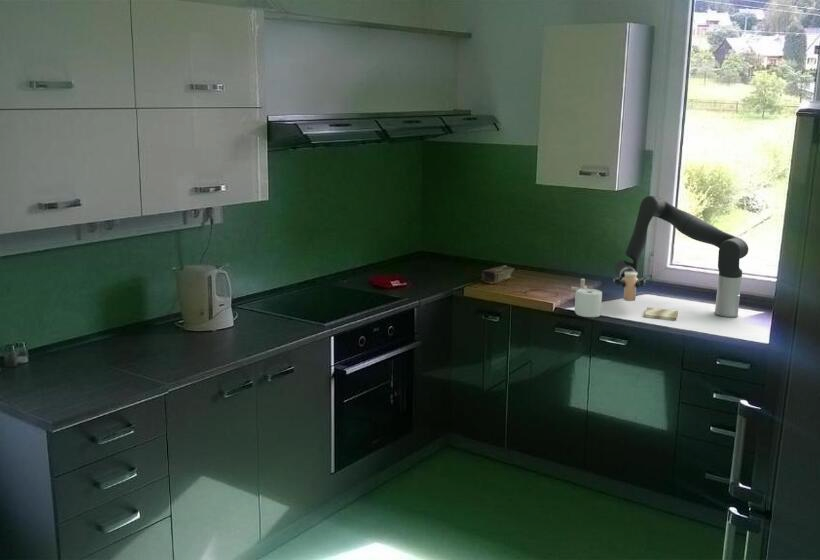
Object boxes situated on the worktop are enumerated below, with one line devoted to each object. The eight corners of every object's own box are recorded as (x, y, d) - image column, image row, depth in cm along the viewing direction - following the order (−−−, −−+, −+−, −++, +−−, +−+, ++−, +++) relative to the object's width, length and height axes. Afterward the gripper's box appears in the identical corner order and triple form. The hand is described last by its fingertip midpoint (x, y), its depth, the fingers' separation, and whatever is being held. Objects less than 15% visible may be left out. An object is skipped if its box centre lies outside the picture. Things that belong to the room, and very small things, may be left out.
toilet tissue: (598, 318, 343) (599, 295, 341) (570, 315, 347) (571, 292, 345) (602, 312, 352) (604, 290, 350) (575, 309, 357) (576, 287, 355)
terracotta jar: (636, 298, 353) (638, 271, 350) (635, 301, 348) (636, 274, 346) (623, 297, 355) (625, 270, 352) (622, 300, 350) (623, 273, 347)
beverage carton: (515, 279, 412) (515, 266, 411) (493, 285, 398) (494, 272, 396) (501, 276, 417) (502, 264, 416) (480, 283, 403) (480, 270, 401)
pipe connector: (567, 301, 370) (568, 280, 368) (574, 296, 379) (575, 275, 376) (589, 304, 365) (590, 282, 363) (595, 299, 374) (596, 278, 372)
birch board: (677, 313, 352) (678, 310, 352) (676, 320, 342) (676, 317, 341) (646, 310, 357) (647, 307, 357) (644, 317, 346) (644, 314, 346)
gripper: (612, 267, 364) (614, 276, 348) (645, 269, 362) (648, 277, 345) (611, 284, 366) (613, 293, 350) (644, 285, 363) (647, 294, 347)
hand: (630, 285), depth 348 cm, fingers closed on terracotta jar, 5 cm apart
